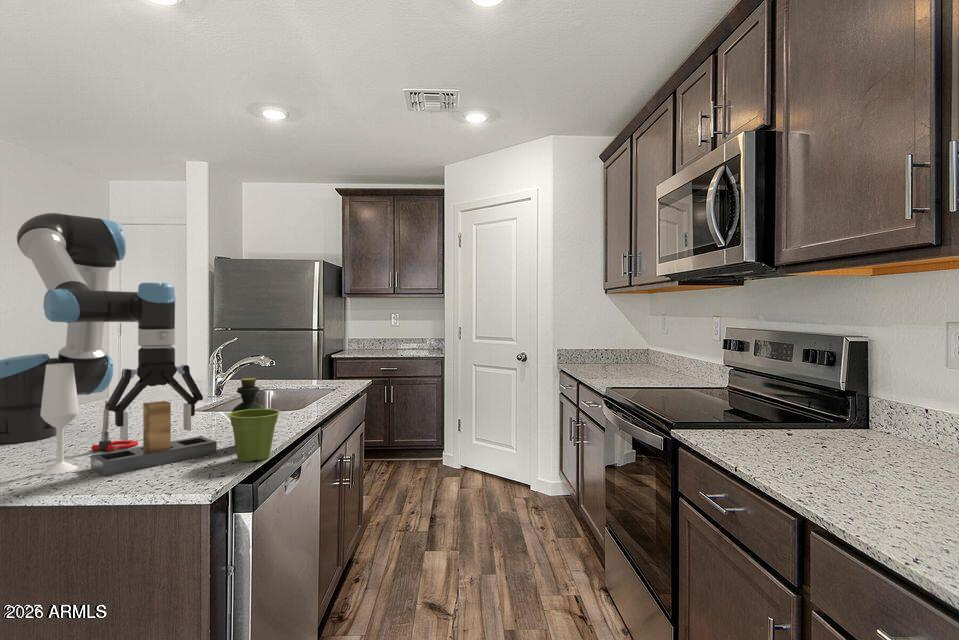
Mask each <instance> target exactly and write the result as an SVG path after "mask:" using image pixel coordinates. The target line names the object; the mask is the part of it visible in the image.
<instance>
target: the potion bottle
mask: <svg viewBox="0 0 959 640" xmlns="http://www.w3.org/2000/svg"><path fill="white" fill-rule="evenodd" d="M256 381H257V378H256V377H248V378H247V377H246V378H245V377H244V378H240V382H241V386H240V387H237V390H236V394H239V395H240V397H241V401H242V402H241V403H239V404H237V405H236V406H234V407H233V408H232V411H231V412H235V411H240V410H248V409H265V407H264V406H263V405H262V404H260V403H258V402H256V401H255V399H256V395H257V393H259V392H261V390H260V386H256ZM234 446H235V447H236V445H235V444H234Z"/></svg>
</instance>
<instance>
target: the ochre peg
mask: <svg viewBox="0 0 959 640" xmlns="http://www.w3.org/2000/svg"><path fill="white" fill-rule="evenodd" d="M142 404H143V405H142V410H143V412H142V414H143V415H142V416H143V417H142V419H143V420H142V422H143V423H142V424H143V425H142V426H143V427H142V429H143V430H142V431H143V434H142V436H143V437H142V438H143V441H142V446H143V450H144V451H146V452H153V451H159V450H164V449H170V448H171V440H172V439H171V437H172V435H171V434H172V433H171V429H172V428H171V427H172V426H171V425H172V424H171V423H172V422H171V417H172V412H171V410H172V409H171V407H172V405H171V402H170V401H166V400H159V401H157V400H156V401H149V402H147V401H146V402H143V403H142Z"/></svg>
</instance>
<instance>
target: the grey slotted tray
mask: <svg viewBox="0 0 959 640" xmlns="http://www.w3.org/2000/svg"><path fill="white" fill-rule="evenodd" d="M217 451H218V450H217V441H216V440H213V439H210V438H208V437H204V436H202V435H200V436H195V437H188V438H184V439H176V440H172V441H171V448H170V449H164V450H159V451H153V452H146V451H144V450H143V445H142V446H134V447H130V448H124V449H118V450H117V451H106V452H102V453H101V452H100V453H95V454H91V455H90V469H91V470H92V471H94V472H96V473H97V474H99V475H100V476H102V477H107V476H111V475H116V474H120V473H121V474H122V473H126V472H130V471H135V470H141V469H145V468H151V467H155V466H160V465H165V464H166V465H167V464H171V463H174V462H175V463H177V462H180V461H186V460H190V459H195V458H200V457H206V456H210V455H215V454H218V453H217Z"/></svg>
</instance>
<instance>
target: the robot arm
mask: <svg viewBox="0 0 959 640" xmlns="http://www.w3.org/2000/svg"><path fill="white" fill-rule="evenodd" d="M16 243H17V246H18V248H19V250H20V251H21V253H22V254H23V256H25V257H26V258H27V259H30V260H31V262H32V264H33V267H34V268H35V269H36V271H37V273H38V276H39V277H40V278H41V281H42V282H43V285H44V286H45V288H46V290H47V291H46V292H45V294H44V297H43V306H42V307H43V311H44V316H45V318H46V319H47V320H48V321H50V322H52V323H53V322H54V323H65V324H66V323H67V326H66V327H67V328H66V338H65V340H66V341H65V346H64V347H61V348H60V349H59V350H58V354H57V355H58V356H57V357H50V356H49V354H48V353H35V354H25V355H19V356H14V357H13V356H11V357H7V358H2V359H0V445H2V444H3V445H4V444H17V443H25V442H26V443H27V442H32V441H37V440H43V439H44V440H45V439H48V438H51V437H53V436H57V428H56V427H53V426H51V425H50V424H48V423H47V422H45V421H44V420H43V418H42V417H41V415H40V413H41V405H42V396H43V388H44V379H45V370H46V365H47V364H58V363H73V366H74V374H75V382H76V390H77V396H81V395H82V396H83V395H85V396H86V395H88V396H89V395H91V394H97V393H103V392H105V390H106V389H108V387H109V386H110V384H111V383H112V379H113V375H114V360H113V359H112V357H111V356H110V355H108V351H107V350H106V349H104V347H102V346H103V345H102V344H103V336H104V326H105V325H104V323H125V322H126V323H135V322H136V323H137V325H138V326H137V328H138V331H137V332H138V333H137V334H138V336H137V338H138V339H137V345H138V346H139V349H138V350H137V355H138V357H137V365H138V366H137V368H136V369H131V368H123V369H122V371H121V378H120V379H119V381H118V384H117V385H116V387H115V389H114V390H113V392H112V394H111V396H110V398H109V399H108V400H107V401H108V403H107V404H106V406H105V405H104V409H107V410H109V412H114V418H115V419H114V424H115V426H116V427H119V435H120V436H119V440H120V441H121V440H123V441H128V440H129V421H128V420H129V412H128V411H126V410H127V408H128V407H129V406H130V404H131V403H132V402H133V401H134V400H135V399H136V398H137V397H138V396H139V395H140V394H141V392H142V391H143V390H145V389H146V388H147V386H149V387H156V386H166V385H167V384H168V385H169V386H170V387H171V388H172V389H173V390H174V391H175V392H176V393H177V394H178V395H179V396H180V397H181V398H183V399H184V400H185V402H186V403H184V402H183V404H182V405H183V408H182V409H183V413H182V414H183V415H182V417H183V423H182V425H183V426H182V427H183V430H184V431H187V432H190V431H192V417H194V416H195V414H196V404H197V403H198V402H199V401H203V400H204V396H203V395H202V393H201V391H200V389H199V386H197V384H196V381H195V380H194V378H193V376H192V375H191V370H190V369H191V368H190V366H189V365H188V364H181V365H179V366H178V365H177V366H176V348H175V347H173V346H174V345H175V344H176V328H175V327H176V300H177V297H176V291H175V286H174V285H173V284H171V283H167V282H165V283H164V282H141V283H139V284H138V286H137V287H138V288H137V291H119V290H118V291H116V290H114V291H113V290H108V287H109V286H108V285H109V276H110V274H109V273H110V272H111V271H112V270H113V269H115V268H116V266H117V261H122V260H124V259H125V255H126V253H127V244H126V243H127V242H126V236H125V233H124V231H123V228H122V226H121V225H120V224H119V223H117V222H116V221H114V220H109V219H105V218H104V219H103V218H100V217H99V218H98V217H89V216H81V215H73V214H63V213H58V212H57V213H56V212H48V213H42V214H38V215H36V216H33V217H31V218H30V219H28V220H26V221H25V222H24V223H23V224H22V225H21V226H20V228H19V229H18V232H17V234H16ZM177 372H178V374H180V376H181V378H182V379H183V381H184V382H185V384H186V386H187V388H188V390H189V392H190V393H191V394H192V395H191V394H190V393H189V392H188V391H187V390H186V389H185V388H184V387H183V386H182V385H181V384H180V383H179V382H178V380H176V378H175V377H174V376H175V375H176V374H177ZM135 375H136V376H137V377H138V378H139V380H137V381H136V383H134V385H133V387H132V388H131V389H130V391H129V392H128V393H126V395H125V396H124V397H123V394H124V393H125V392H126V389H127V388H128V386H129V384H130V382H131V380H132V379H134V377H135ZM122 397H123V398H122ZM121 398H122V399H121ZM120 400H121V401H120Z"/></svg>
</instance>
